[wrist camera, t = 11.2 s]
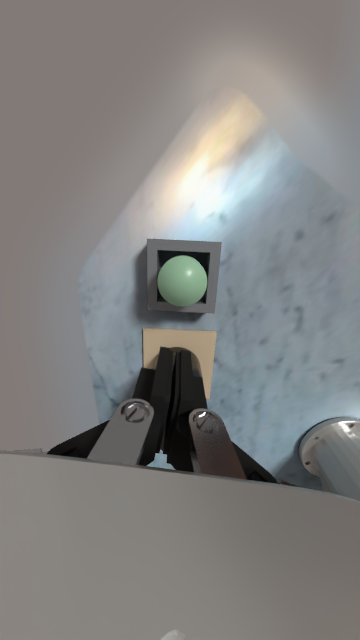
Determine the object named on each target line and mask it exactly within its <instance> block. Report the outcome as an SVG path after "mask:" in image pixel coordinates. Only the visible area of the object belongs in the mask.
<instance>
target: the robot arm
mask: <svg viewBox="0 0 360 640" xmlns="http://www.w3.org/2000/svg"><path fill="white" fill-rule="evenodd" d="M173 352H174V351H170V348H167V347H161V346H160V351H159V356H158V361H157V367H156V370H155V369H148V368H141V371H140V375H139V378H138V381H137V385H136V388H135V391H134V394H133V398H132V399H129V400H125V401H124V402H122V403H121V404H120V405H119V406H118V408H117V409H116V411H115V413H114V414H113V416H112V418H111V419H110V420H108V421H106V422H104V423H102V424H100V425H98V426H96V427H94V428H92V429H90V430H88V431H86V432H84V433H81V434H79V435H77V436H75V437H73V438H71V439H69V440H67V441H65V442H63V443H61V444H59V445H57V446H56V447H54V448H52V449H51V450H50V451H49V452H42V449H29V450H16V451H5V450H0V640H360V419H357V418H351V417H341V418H335V419H330V420H327V421H325V422H322V423H320V424H318V425H317V426H315V427H314V428H312V429H311V430H310V431H309V432H308V433H307V434H306V435H305V436H304V438H303V439H302V441H301V443H300V446H299V457H300V460H301V462H302V464H303V465H304V467H305V468H306V469H307V471H308V472H310V473H311V474H313V475H315V476H317V477H319V478H320V480H321V482H322V483H321V486H322V490H321V491H318V490H313V489H307V488H302V487H299V486H296V485H294V484H291V483H288V482H285V481H283V480H281V482H280V483H278V482H277V481H276V479H275V478H274V477H273V476H272V475H271V474H270V473H269V472H268V471H267V470H265V469H264V468H263V467H262V466H261V465H259V464H258V463H257V462H256V461H255V460H253V459H252V458H251V457H250V456H249V455H248V454H246V453H245V452H244V451H243V450H242V449H240V448H239V447H238V446H237V445H236V444H234V443H233V442H232V441H231V439H230V437H229V434H228V432H227V430H226V427H225V425H224V422H223V420H222V419H221V417H220V416H219V415H218V414H216V413H215V412H213V411H211V410H208V409H207V403H206V397H205V390H204V384H203V378H202V377H199V376H193V372H192V361H191V351H186V350H180V352H176V356H175V361H174V366H173ZM172 367H173V371H172ZM164 428H165V434H164V446H163V454H167V463H169V464H171V465H172V466H173V467H174V468H175V469H176V470H171V469H164V468H156V467H148V466H147V465H148V464H149V463H151V462H152V461H153V460H154V458H155V453H159V452H160V447H161V442H162V437H163V432H164Z"/></svg>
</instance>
